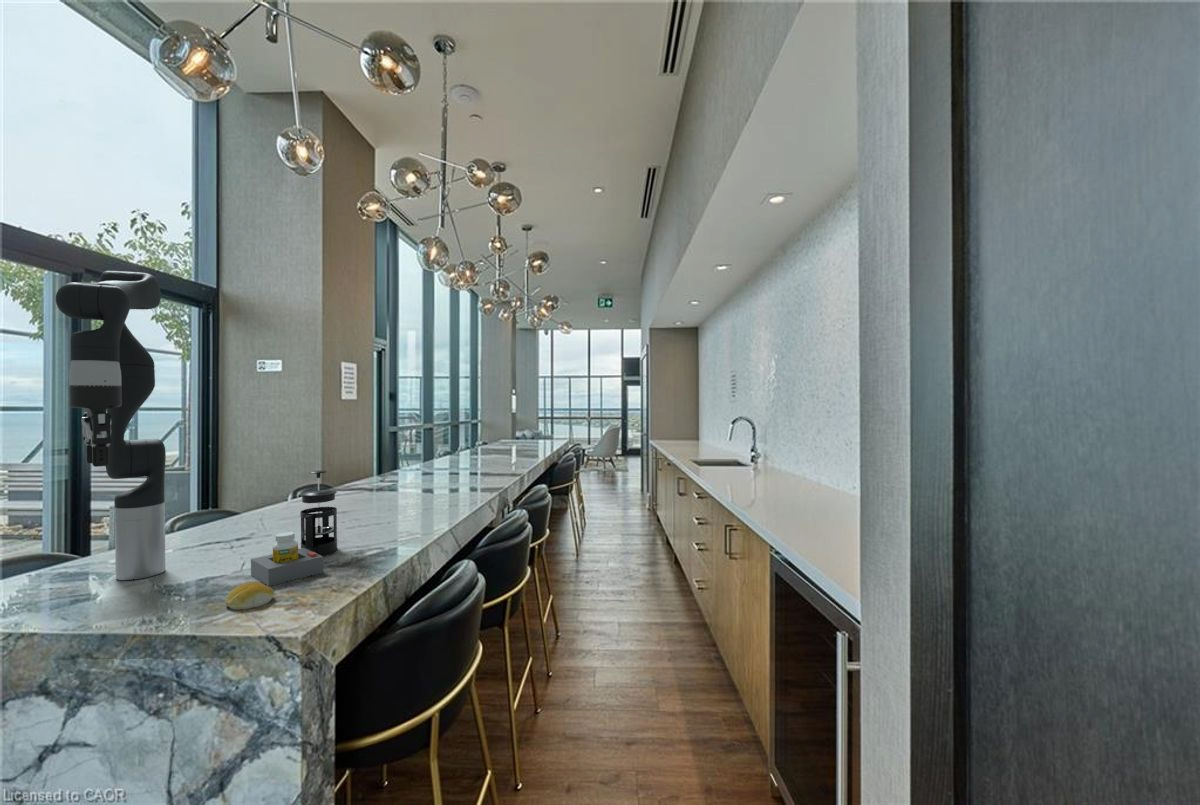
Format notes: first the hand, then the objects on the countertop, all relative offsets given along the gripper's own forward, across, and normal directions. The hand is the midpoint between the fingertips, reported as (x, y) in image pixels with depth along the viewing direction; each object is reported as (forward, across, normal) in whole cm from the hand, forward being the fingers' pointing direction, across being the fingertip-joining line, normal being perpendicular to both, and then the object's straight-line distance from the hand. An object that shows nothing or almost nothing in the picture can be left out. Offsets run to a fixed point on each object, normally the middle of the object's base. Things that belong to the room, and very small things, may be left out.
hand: (97, 464), depth 104 cm
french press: (+30, +8, -45) cm, 55 cm away
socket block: (+30, -4, -33) cm, 45 cm away
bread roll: (+31, -17, -21) cm, 41 cm away
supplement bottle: (+30, -4, -33) cm, 45 cm away
